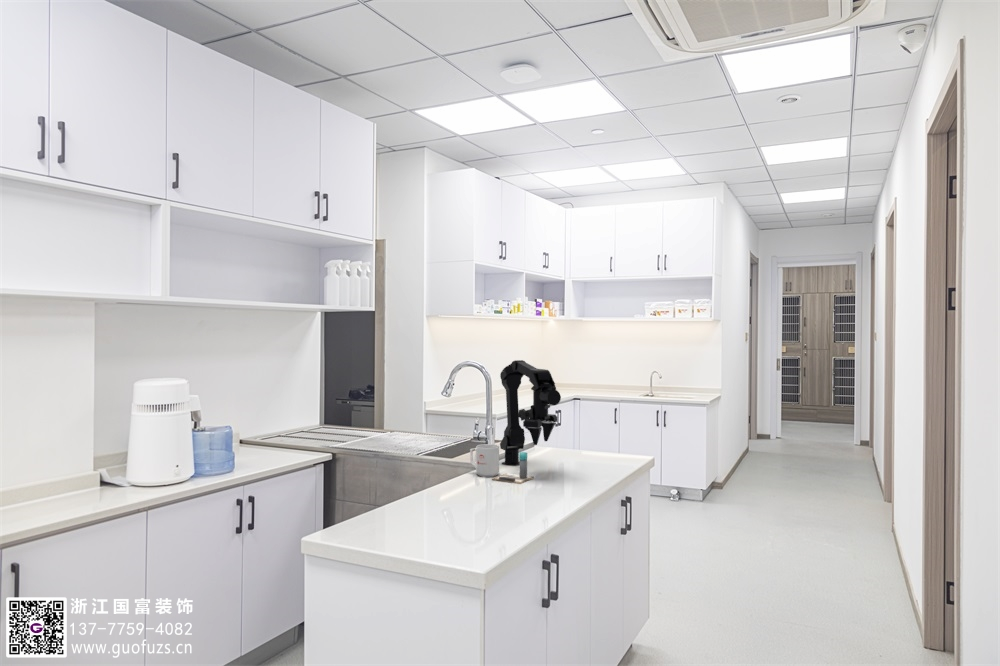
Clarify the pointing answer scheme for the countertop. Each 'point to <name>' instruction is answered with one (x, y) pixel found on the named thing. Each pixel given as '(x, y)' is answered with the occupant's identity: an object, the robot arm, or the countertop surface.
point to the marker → (523, 465)
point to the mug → (486, 460)
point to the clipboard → (512, 478)
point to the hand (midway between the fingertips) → (540, 443)
